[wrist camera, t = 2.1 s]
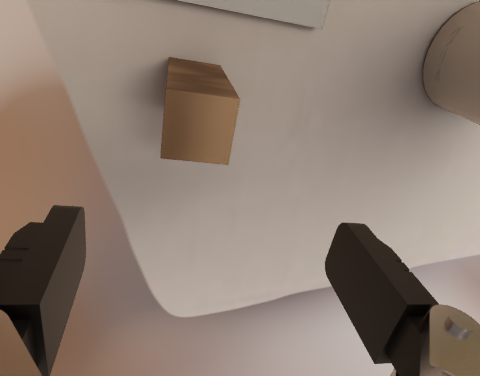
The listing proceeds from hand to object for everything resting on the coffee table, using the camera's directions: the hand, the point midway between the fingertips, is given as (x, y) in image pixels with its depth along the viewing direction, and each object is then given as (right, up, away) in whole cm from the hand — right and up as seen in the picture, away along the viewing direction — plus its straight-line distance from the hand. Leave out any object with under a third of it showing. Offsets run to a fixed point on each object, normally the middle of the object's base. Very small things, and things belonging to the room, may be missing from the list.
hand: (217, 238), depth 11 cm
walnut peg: (-3, +10, +17) cm, 20 cm away
